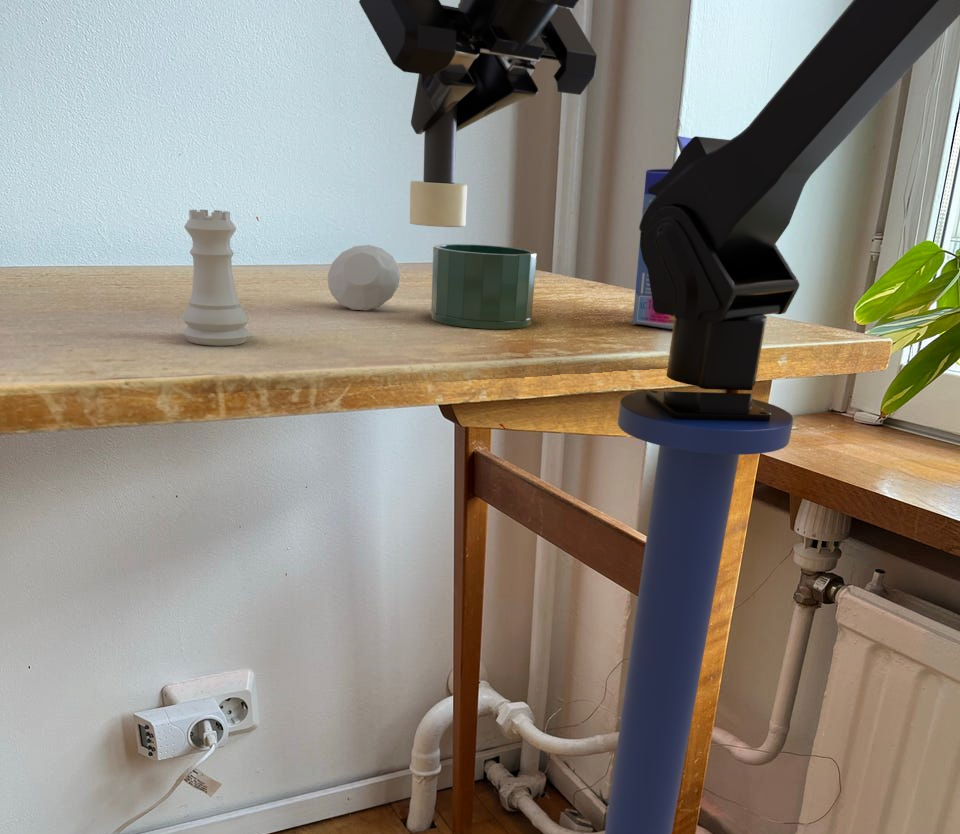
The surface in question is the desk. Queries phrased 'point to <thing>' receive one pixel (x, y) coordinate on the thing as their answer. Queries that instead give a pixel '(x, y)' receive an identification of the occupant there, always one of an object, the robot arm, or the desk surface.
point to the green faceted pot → (483, 286)
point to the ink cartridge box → (643, 295)
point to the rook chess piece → (213, 283)
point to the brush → (439, 179)
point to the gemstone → (363, 277)
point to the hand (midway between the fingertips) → (428, 130)
